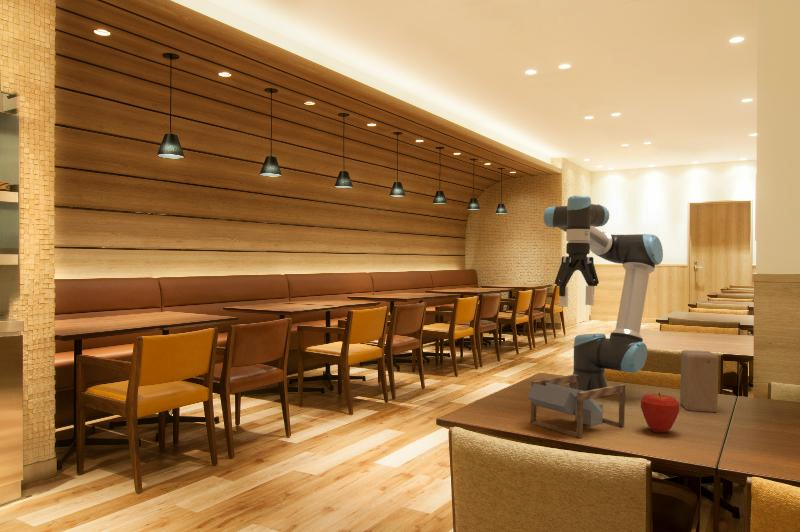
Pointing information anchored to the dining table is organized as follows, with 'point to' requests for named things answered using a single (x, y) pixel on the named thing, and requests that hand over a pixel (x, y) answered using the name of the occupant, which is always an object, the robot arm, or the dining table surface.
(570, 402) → the grey angular block
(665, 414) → the apple
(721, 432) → the dining table surface
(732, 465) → the dining table surface
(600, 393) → the wooden rack
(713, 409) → the wooden block
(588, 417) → the stone
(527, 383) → the dining table surface
